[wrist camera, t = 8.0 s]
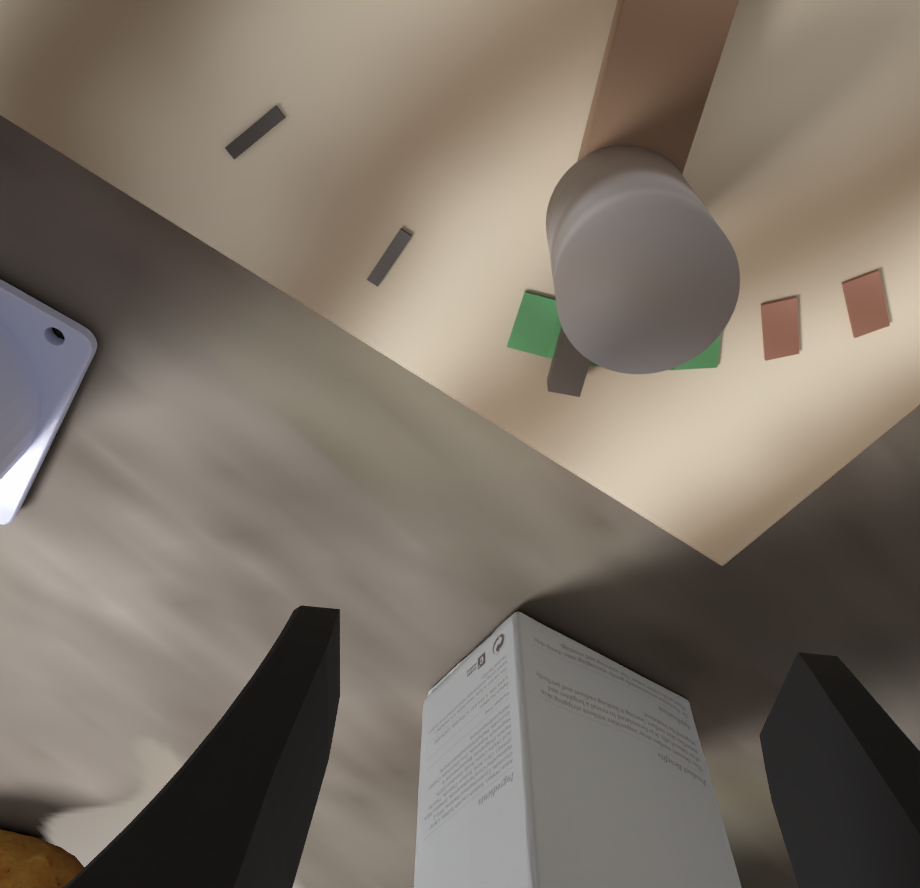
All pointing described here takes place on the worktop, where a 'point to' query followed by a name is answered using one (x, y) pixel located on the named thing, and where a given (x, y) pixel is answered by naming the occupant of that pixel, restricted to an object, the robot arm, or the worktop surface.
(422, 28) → the dial board
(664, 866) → the skincare box
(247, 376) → the worktop surface
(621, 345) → the lever
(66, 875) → the potato
